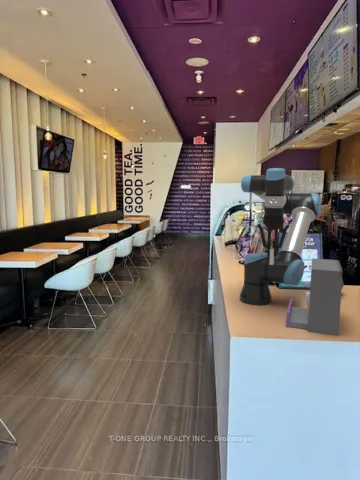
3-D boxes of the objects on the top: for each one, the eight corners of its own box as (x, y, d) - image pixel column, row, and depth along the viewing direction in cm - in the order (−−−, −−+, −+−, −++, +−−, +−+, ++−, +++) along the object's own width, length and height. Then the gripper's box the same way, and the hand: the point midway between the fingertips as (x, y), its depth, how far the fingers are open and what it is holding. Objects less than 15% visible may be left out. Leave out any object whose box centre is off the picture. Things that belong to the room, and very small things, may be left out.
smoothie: (301, 313, 144) (303, 280, 142) (316, 313, 145) (318, 280, 143) (308, 319, 138) (310, 284, 136) (324, 318, 138) (326, 284, 136)
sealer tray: (286, 326, 135) (286, 312, 135) (289, 310, 154) (290, 298, 153) (329, 332, 130) (330, 318, 129) (327, 315, 148) (328, 302, 148)
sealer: (307, 331, 131) (311, 269, 128) (308, 312, 152) (312, 258, 149) (338, 335, 127) (342, 271, 124) (334, 315, 149) (338, 260, 146)
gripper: (256, 207, 140) (254, 264, 143) (290, 207, 135) (287, 267, 139) (259, 206, 147) (257, 261, 150) (291, 207, 142) (288, 263, 146)
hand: (271, 264), depth 144 cm, fingers closed
